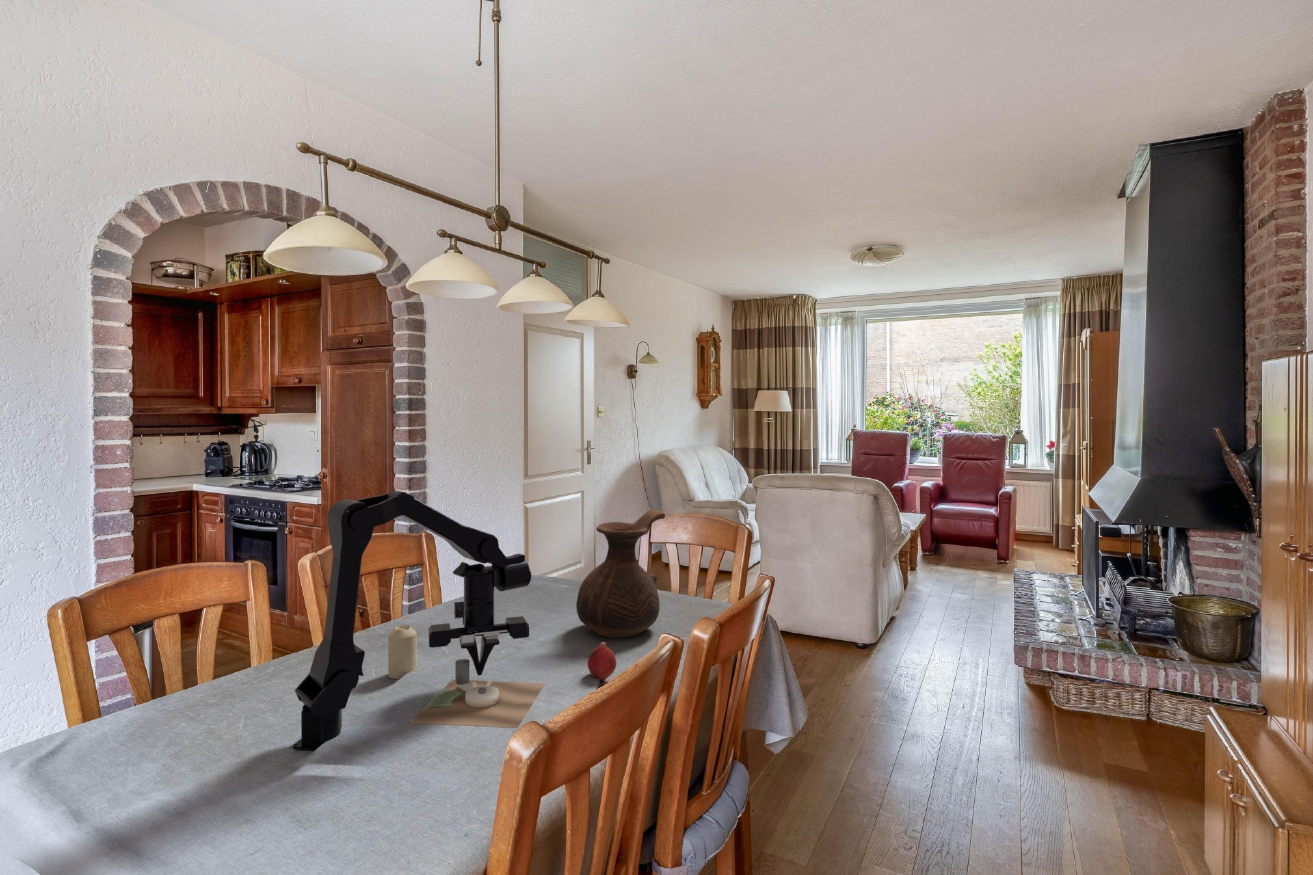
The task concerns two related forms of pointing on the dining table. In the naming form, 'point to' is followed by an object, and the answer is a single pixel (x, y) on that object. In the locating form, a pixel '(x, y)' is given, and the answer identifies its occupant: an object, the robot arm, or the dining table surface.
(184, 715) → the dining table surface
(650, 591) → the jug
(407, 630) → the candle
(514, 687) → the dial board
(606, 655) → the onion
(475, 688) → the needle
